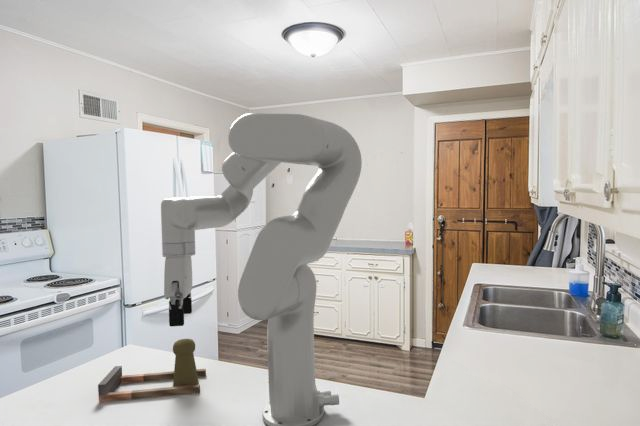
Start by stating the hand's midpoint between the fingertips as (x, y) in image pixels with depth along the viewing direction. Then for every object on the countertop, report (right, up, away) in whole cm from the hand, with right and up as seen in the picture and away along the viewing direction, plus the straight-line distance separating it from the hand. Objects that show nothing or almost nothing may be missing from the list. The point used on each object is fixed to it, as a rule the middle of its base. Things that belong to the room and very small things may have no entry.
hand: (181, 319), depth 100 cm
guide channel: (-6, -16, -1) cm, 17 cm away
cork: (+1, -16, 0) cm, 16 cm away
